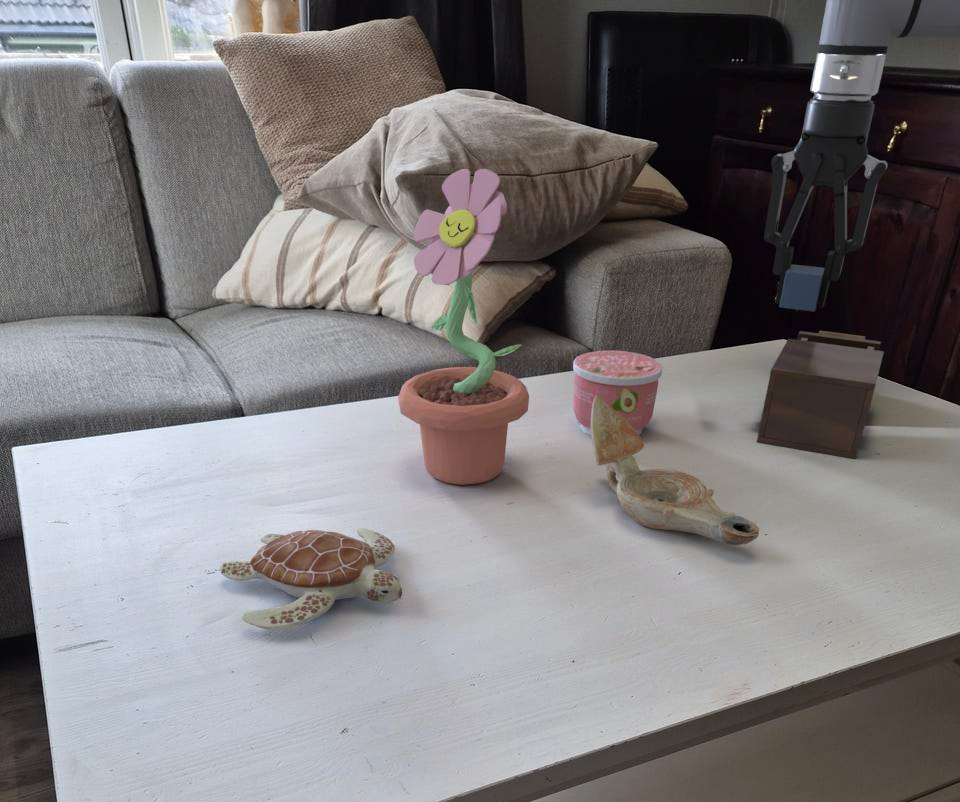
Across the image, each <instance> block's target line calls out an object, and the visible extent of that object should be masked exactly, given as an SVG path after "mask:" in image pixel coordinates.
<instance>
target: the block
mask: <svg viewBox="0 0 960 802" xmlns="http://www.w3.org/2000/svg"><path fill="white" fill-rule="evenodd" d="M824 269H825V267H819V266H811V265H800V264H792V263H791V266H790V268H789V269H788V270H787V271H786V275H785V280H784V285H783V290H782V295H781V301H780V304H779V308H780V309H788V310H789V309H790V310H797V311H804V312H805V311H806V312H812V313H813V312H816V310H817V308H816V306H817V302H818V297H819V292H820V288H821V283H822V278H823V273H824Z"/></svg>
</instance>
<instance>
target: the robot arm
mask: <svg viewBox="0 0 960 802" xmlns="http://www.w3.org/2000/svg"><path fill="white" fill-rule="evenodd" d="M891 38H898V39H900V38H907V39H915V38H917V39H934V40H935V39H937V40H938V39H941V40H960V0H826V3H825V8H824V14H823V20H822V25H821V31H820V37H819V43H818V47H817V53H816V57H815V63H814V68H813V72H812V78H811V82H810V83H811V84H810V89H809V91H810V92H811V94H814V95H813V97H812V98H810V99H809V101H807V105H806V109H805V114H804V121H803V126H802V131H801V136H800V139H799V141H798V143H797V144H796V146H795V147H794V149H793V150H791V151H788V152H785V153H777V154H775V155H774V156H773V157H772V158H771V162H770V163H771V169H772V175H773V179H772V185H771V192H770V196H769V202H768V203H769V204H768V209H767V215H766V216H767V217H766V221H765V228H764V234H763V240H764V242H766V243H769V244H772V245H773V246H774V247H775V256H774V262H773V267H772V275H773V276H774V275H775V276H779V280H778V286H777V292H776V296H775V302H774V304H776V305H777V304H778V305H780V301H781V295H782V290H783V285H784V280H785V275H786V271H787V270H788V269H789V268H790V266H791V265H792V263H793V256H794V252H795V246H789V244H790V243H791V240H792V238H793V235H794V232H795V230H796V228H797V226H798V223H799V221H800V218H801V216H802V214H803V212H804V209H805V207H806V205H807V202H808V200H809V197H810V195H811V192H812V190H813V189H814V187H818V186H822V185H824V186H826V187H829V188H833V198H834V199H833V202H834V203H833V205H834V206H833V213H834V214H833V217H834V218H833V219H834V221H833V222H834V227H833V228H834V229H833V231H834V234H833V235H834V239H833V240H834V250H829V251H828V253H827V255H826V259H825V265H824V268H825V269H824V273H823V278H822V283H821V288H820V292H819V297H818V302H817V306H816V309H820V310H823V308H824V306H825V305H826V299H827V296H828V291H829V286H830V281H831V282H837V281H838V280H839V278H840V276H841V273H842V270H843V264H844V260H845V256H846V254H848V253H851V252H857V251H859V250H860V249H861V248H862V246H863V244H864V240H865V237H866V234H867V233H866V232H867V230H868V229H867V228H868V225H869V221H870V216H871V212H872V209H873V204H874V201H875V196H876V191H877V189H878V184H879V182H880V180H881V178H882V177H883V175H884V174H885V172H886V170H887V168H888V162H887V161H886V160H885V159H884V160H883V159H882V160H879V159H878V158H876V157H873V156H872V155H870V154H869V148H868V139H869V133H870V129H871V123H872V121H873V120H872V119H873V115H874V111H875V105H876V104H874V103H875V102H874V101H873V100H871V98H872V96H873V97H875V95H877V94H878V93H879V88H880V84H881V79H882V76H883V71H884V67H885V61H886V57H887V52H888V47H889V44H890V40H891ZM794 161H795V162H796V164H797V166H798V169H799V170H800V173H801V174H802V175H801V176H802V177H803V180H802V182H801V184H800V186H799V188H798V192H797V194H796V197H795V199H794V202H793V205H792V206H791V209H790V212H789V213H788V216H787V219H786V221H785V224H784V226H783V228H782V231H781V233H780V232H778V229H779V223H780V219H781V218H780V217H781V212H782V206H783V199H784V194H785V188H786V182H787V175H788V173H787V172H789V171H790V170H791V169H792V166H793V162H794ZM861 166H864V167H865V170H864V174H863V175H864V177H865V178H866V179H867V180H866V183H865V185H864V190H863V194H862V199H861V202H860V206H859V210H858V213H857V218H856V223H855V228H854V232H853V235H852V239H848V181H849V179H850V178H851V177H852V176H853V175H854V174H855V173H856V172H857V171H858V170H859V168H860V167H861Z"/></svg>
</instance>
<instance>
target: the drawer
mask: <svg viewBox="0 0 960 802" xmlns="http://www.w3.org/2000/svg"><path fill="white" fill-rule="evenodd" d="M796 340H802V341H810V342H817V343H825V344H832V345H840V346H847V347H855V348H862V349H869V350H877V351H880V347H881V343H882V341H879V340H871V339H866V336H865V335H857V334H848V333H841V332H833V331H825V330H819V331H818V333H817V332H809V331H804V330H800V331H799V332H798V335H797V339H796Z"/></svg>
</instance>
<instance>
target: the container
mask: <svg viewBox="0 0 960 802" xmlns="http://www.w3.org/2000/svg"><path fill="white" fill-rule="evenodd" d="M572 369H573V372H574V373H575V374H574V377H573V378H574V379H573V404H572V405H573V406H572V408H573V412H574V415H575V418H576V421H577V422H578V423H579V424H580V425H579V427H580V429H581V431H582V432H583V433H584V434H586V435H588V436H591V412H592V403H593V400H594V397H595V396H597V395H598V396H599V397H601V399H602V400H603V401H604V402H605V403H606V404H607V405H609V406H610V407H611V408H613V409H614V410H615V411H616V412H618V413H619V414H620V415H621V416H622V417H623V418H624V419H625V420H626V421H627V422H628V423H629V424H630V425H631V426H632V427H633V428H634V430H635V431H636V432H637V433H638V435H639V436H640V435H641V434H642V433H643V429H644V428H645V427H647V426H648V424H649V423H650V421H651V419H652V417H653V415H654V409H655V404H656V399H657V393H658V387H659V379H660V378H661V377H662V374H663V365H662V363H661V362H660V361H658V360H657V359H655V358H653V357H651V356H649V355H646V354H642V353H637V352H633V351H625V350H597V351H596V350H595V351H590V352H585V353H582V354H580V355H577V357H576V358H574V360H573V365H572Z"/></svg>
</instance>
